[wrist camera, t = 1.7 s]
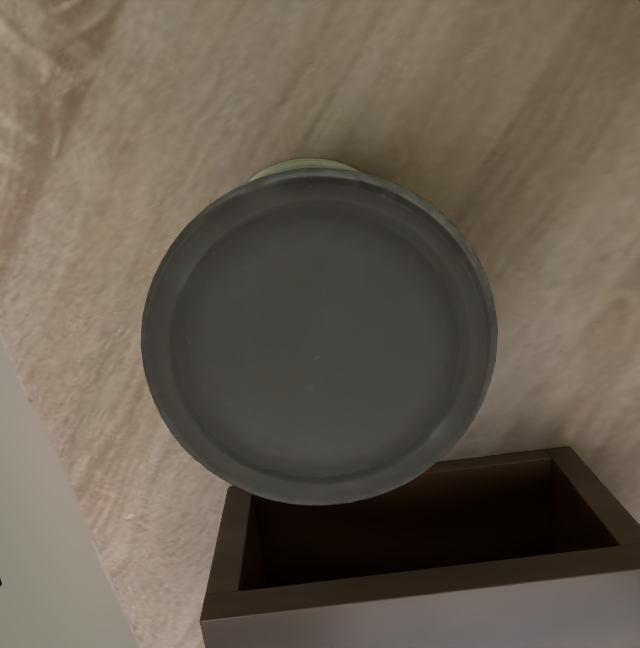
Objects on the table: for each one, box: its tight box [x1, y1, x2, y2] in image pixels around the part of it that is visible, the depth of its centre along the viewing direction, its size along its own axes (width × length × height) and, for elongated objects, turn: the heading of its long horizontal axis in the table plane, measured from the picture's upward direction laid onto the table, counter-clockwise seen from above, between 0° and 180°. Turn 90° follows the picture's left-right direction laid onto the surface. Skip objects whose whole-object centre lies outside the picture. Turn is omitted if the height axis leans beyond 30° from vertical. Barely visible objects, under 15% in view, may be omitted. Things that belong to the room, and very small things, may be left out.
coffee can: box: [141, 158, 498, 505], centre depth 24 cm, size 10×10×14 cm
